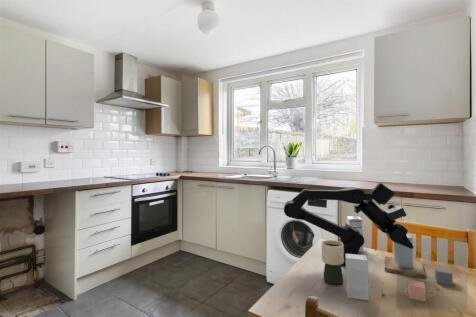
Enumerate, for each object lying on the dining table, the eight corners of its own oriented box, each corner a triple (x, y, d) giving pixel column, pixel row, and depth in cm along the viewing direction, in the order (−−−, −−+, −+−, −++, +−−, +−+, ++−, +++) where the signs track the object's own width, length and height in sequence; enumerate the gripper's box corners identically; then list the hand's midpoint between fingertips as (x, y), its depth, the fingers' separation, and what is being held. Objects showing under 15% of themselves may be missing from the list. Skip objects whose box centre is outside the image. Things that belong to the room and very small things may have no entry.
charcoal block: (437, 283, 84) (436, 271, 84) (435, 278, 88) (434, 266, 88) (452, 286, 82) (452, 273, 82) (450, 280, 86) (449, 269, 86)
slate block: (399, 266, 94) (398, 237, 94) (394, 261, 98) (394, 233, 98) (412, 267, 93) (412, 237, 93) (407, 262, 97) (407, 234, 97)
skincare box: (367, 293, 78) (366, 255, 78) (369, 301, 74) (368, 260, 74) (345, 290, 80) (345, 253, 80) (346, 297, 76) (346, 258, 76)
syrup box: (363, 251, 113) (363, 219, 113) (349, 251, 114) (349, 218, 114) (360, 247, 118) (359, 216, 118) (346, 246, 119) (346, 215, 119)
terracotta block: (409, 298, 76) (408, 284, 76) (408, 292, 79) (408, 279, 79) (425, 302, 74) (425, 288, 74) (424, 295, 77) (423, 282, 77)
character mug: (353, 287, 82) (352, 247, 82) (333, 290, 81) (333, 249, 81) (332, 273, 93) (332, 237, 93) (315, 275, 91) (314, 239, 91)
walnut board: (384, 270, 94) (384, 267, 94) (385, 259, 104) (385, 256, 104) (425, 278, 88) (425, 274, 88) (421, 265, 98) (421, 262, 98)
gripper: (400, 203, 87) (438, 236, 85) (382, 195, 106) (412, 222, 103) (375, 225, 89) (411, 258, 87) (362, 213, 107) (391, 241, 105)
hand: (407, 243), depth 95 cm, fingers open, 9 cm apart
